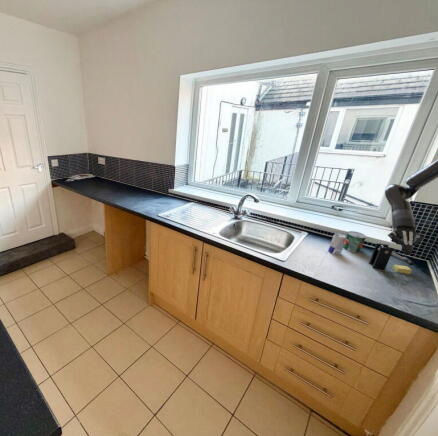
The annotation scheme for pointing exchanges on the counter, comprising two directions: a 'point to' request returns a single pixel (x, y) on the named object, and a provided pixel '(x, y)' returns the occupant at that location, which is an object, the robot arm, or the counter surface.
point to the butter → (402, 269)
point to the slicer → (381, 257)
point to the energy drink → (337, 244)
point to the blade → (401, 257)
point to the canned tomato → (354, 241)
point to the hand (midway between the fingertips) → (407, 253)
